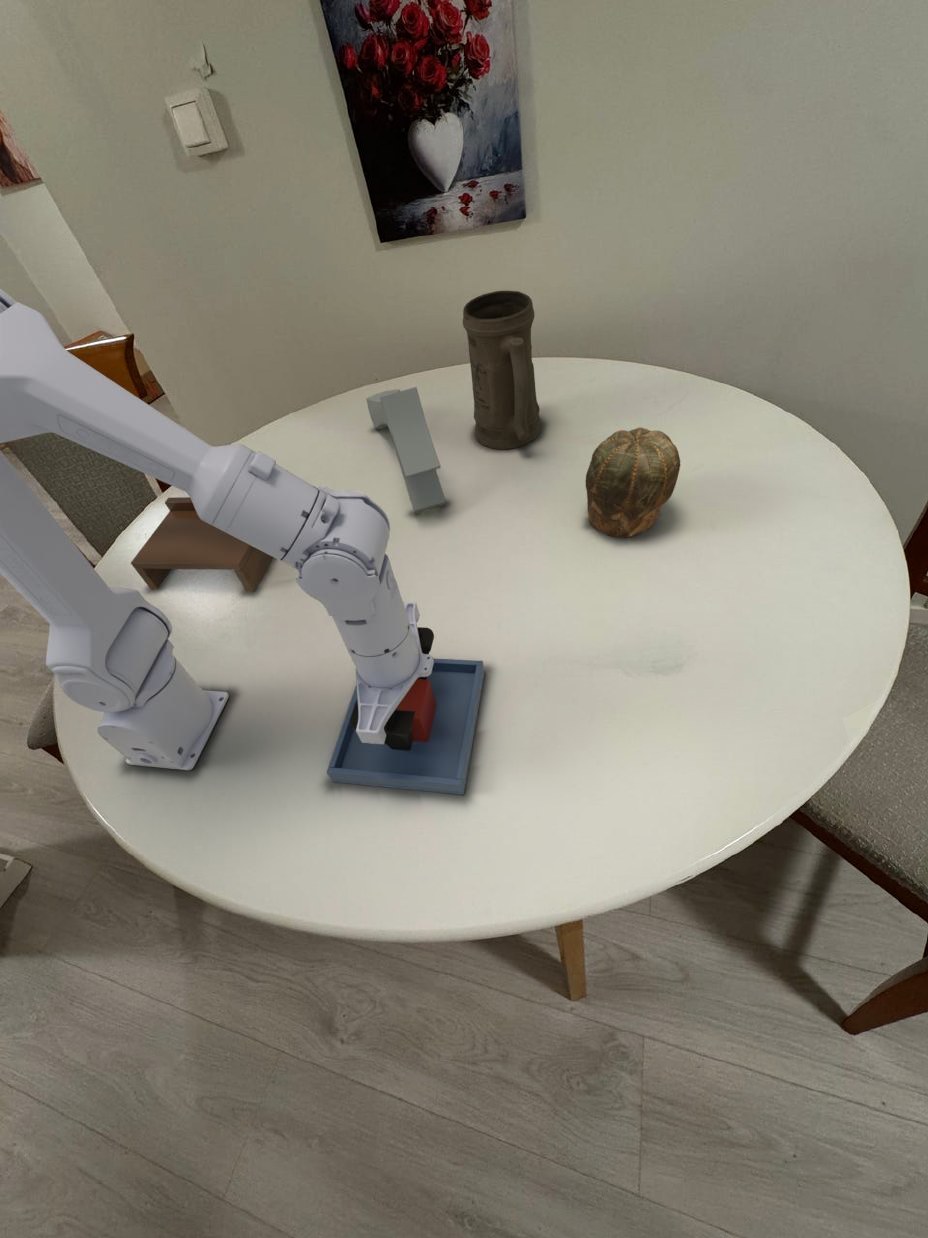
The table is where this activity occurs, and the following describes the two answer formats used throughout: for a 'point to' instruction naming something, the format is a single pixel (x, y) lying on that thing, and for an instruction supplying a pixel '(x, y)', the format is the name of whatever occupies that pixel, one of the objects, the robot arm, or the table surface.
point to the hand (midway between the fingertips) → (409, 715)
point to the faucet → (410, 444)
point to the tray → (426, 762)
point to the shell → (630, 481)
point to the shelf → (196, 549)
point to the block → (420, 709)
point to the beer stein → (502, 368)
